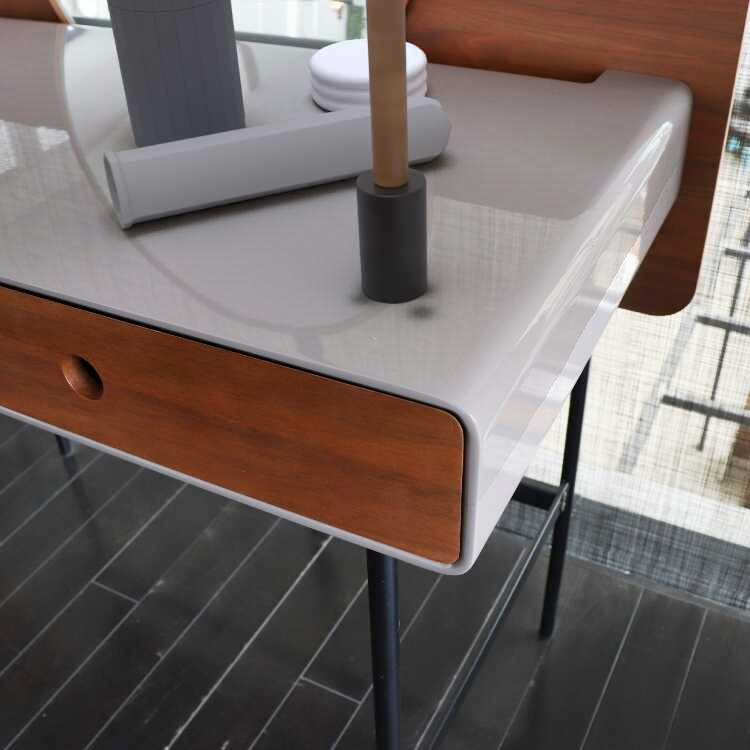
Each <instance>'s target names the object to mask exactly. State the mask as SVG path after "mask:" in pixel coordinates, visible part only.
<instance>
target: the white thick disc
mask: <svg viewBox="0 0 750 750" xmlns="http://www.w3.org/2000/svg"><path fill="white" fill-rule="evenodd" d="M427 64H428V59H427V55H426V53H425V52H424V51H423V50H422V49H421V48H420V47H418V46H417V45H415V44H412V43H410V42H407V41H406V74H407V98H409V97H414V96H419V95H422V96H425V97H426V94H427V92H428V83H427V77H428V72H427V68H426V67H427ZM308 69H309V72H310V76H309V82H310V84H311V89H310V94H311V96H312V100H313V102H315V103H316V104H317V105H318V106H319V107H321V108H322V109H324V110H326V111H329V112H334V111H339V110H345V109H350V108H355V107H361V106H366V105H370V88H369V65H368V42H367V37H366V38H356V39H355V38H354V39H348V40H343V41H339V42H338V41H337V42H335V43H332V44H329V45H326V46H324V47H322V48H320V49H319V50H317V51H315V53H314V54H313V55H312V56H311V58H310V59H309V63H308Z"/></svg>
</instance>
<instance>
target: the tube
mask: <svg viewBox="0 0 750 750" xmlns="http://www.w3.org/2000/svg"><path fill="white" fill-rule="evenodd" d="M407 123H408V167H410V166H414V165H415V166H416V165H420V164H423V163H424V164H425V163H429V162H431V161H433V160H434V159H435V158H437V157H438V156H439V155H440V154H442V153H443V152H444V151H446V148H447V147H448V144H449V140H450V135H451V131H452V124H451V122H450V120H449V118H448V116H447V114H446V112H445V110H444V108H443V107H442V105H441V103H440V101H439V100H437V99H434V98H431V97H429V96H426V95H425V96H422V95H419V96H414V97H409V98H407ZM102 162H103V167H104V172H105V177H106V181H107V187H108V191H109V194H110V197H111V202H112V205H113V209H114V213H115V217H116V218H117V220H118V223H119V225H120V227H121V229H122V230H126V229H131V227H132V225H135V224H138V223H142V222H147V221H153V220H158V219H162V218H167V217H171V216H176V215H181V214H186V213H190V212H195V211H196V212H197V211H200V210H205V209H209V208H214V207H219V206H224V205H229V204H233V203H234V204H235V203H239V202H242V201H248V200H252V199H258V198H262V197H266V196H272V195H277V194H281V193H286V192H291V191H295V190H300V189H305V188H309V187H315V186H320V185H324V184H329V183H334V182H338V181H339V182H340V181H342V180H347V179H353V178H358V177H359V176H360V175H361V174H362V173H364V172H366V171H368V170H371V169H373V157H372V134H371V111H370V105H366V106H361V107H355V108H350V109H345V110H339V111H334V112H332V111H329V112H324V113H319V114H312V115H308V116H303V117H296V118H292V119H286V120H280V121H276V122H271V123H265V124H260V125H254V126H249V127H246V128H243V129H238V130H233V131H227V132H222V133H217V134H211V135H206V136H201V137H195V138H190V139H185V140H179V141H174V142H168V143H163V144H158V145H152V146H147V147H142V148H140V147H136V148H131V149H127V150H120V151H114V150H113V149H106V150H104V151H103V157H102Z"/></svg>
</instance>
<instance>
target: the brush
mask: <svg viewBox="0 0 750 750" xmlns="http://www.w3.org/2000/svg"><path fill="white" fill-rule="evenodd" d="M365 16H366V38H367V42H368V65H369V88H370V111H371V134H372V157H373V169H371V170H368V171H366V172H364V173H362V174H361V175H360V176H358V177H357V178H356V182H355V190H356V191H355V192H356V206H357V208H356V209H357V227H358V243H359V261H360V280H361V282H360V283H361V289H362V291H363V293H364V294H365V295H366V296H367V297H369V298H370V299H372V300H375V301H378V302H382V303H387V304H388V303H389V304H396V303H397V304H398V303H405V302H409V301H412V300H415V299H416V298H418V297H420V296H421V295H423V294H424V292H425V291H427V288H428V225H427V223H428V221H427V219H428V214H427V213H428V212H427V211H428V210H427V208H428V207H427V205H428V204H427V178H426V176H425V175H424V174H423V173H422V172H421V171H420V170H418V169H414V168H412V167H410V166H408V123H407V74H406V42H407V36H406V31H407V30H406V29H407V28H406V0H365Z"/></svg>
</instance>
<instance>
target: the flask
mask: <svg viewBox="0 0 750 750" xmlns="http://www.w3.org/2000/svg"><path fill="white" fill-rule="evenodd" d="M106 5H107V8H108V9H107V10H108V15H109V19H110V24H111V29H112V34H113V39H114V44H115V50H116V55H117V60H118V65H119V70H120V75H121V81H122V85H123V86H122V87H123V92H124V96H125V101H126V102H125V103H126V106H127V111H128V117H129V121H130V122H129V123H130V126H131V132H132V134H133V138H134V142H135V144H136V146H137V147H138V148H142V147H147V146H152V145H158V144H163V143H168V142H174V141H179V140H185V139H190V138H195V137H201V136H206V135H211V134H217V133H222V132H227V131H233V130H238V129H243V128H247V126H246V113H245V105H244V97H243V89H242V80H241V72H240V64H239V57H238V56H239V55H238V48H237V40H236V39H237V38H236V30H235V22H234V13H233V5H232V0H106Z"/></svg>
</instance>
